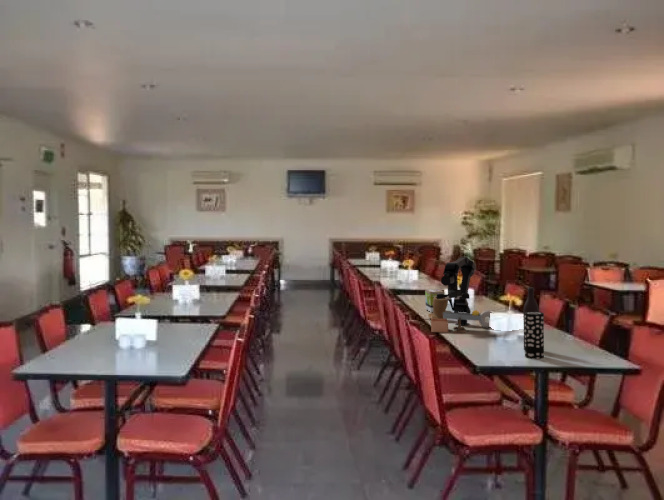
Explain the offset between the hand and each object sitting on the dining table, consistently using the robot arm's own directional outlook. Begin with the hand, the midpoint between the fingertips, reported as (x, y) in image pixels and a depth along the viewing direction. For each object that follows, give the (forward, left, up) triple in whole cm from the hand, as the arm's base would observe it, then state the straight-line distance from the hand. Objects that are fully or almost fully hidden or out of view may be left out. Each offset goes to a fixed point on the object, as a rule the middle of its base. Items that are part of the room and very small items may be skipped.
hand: (453, 310), depth 392 cm
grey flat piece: (+3, +7, -3) cm, 8 cm away
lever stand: (+7, +8, -10) cm, 14 cm away
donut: (-10, +17, -10) cm, 22 cm away
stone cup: (-24, -23, -10) cm, 35 cm away
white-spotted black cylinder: (+55, +71, -10) cm, 90 cm away
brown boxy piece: (+12, -2, -10) cm, 16 cm away
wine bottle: (+41, +64, -10) cm, 76 cm away
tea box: (-58, -45, -10) cm, 75 cm away
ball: (+2, +15, -1) cm, 16 cm away
